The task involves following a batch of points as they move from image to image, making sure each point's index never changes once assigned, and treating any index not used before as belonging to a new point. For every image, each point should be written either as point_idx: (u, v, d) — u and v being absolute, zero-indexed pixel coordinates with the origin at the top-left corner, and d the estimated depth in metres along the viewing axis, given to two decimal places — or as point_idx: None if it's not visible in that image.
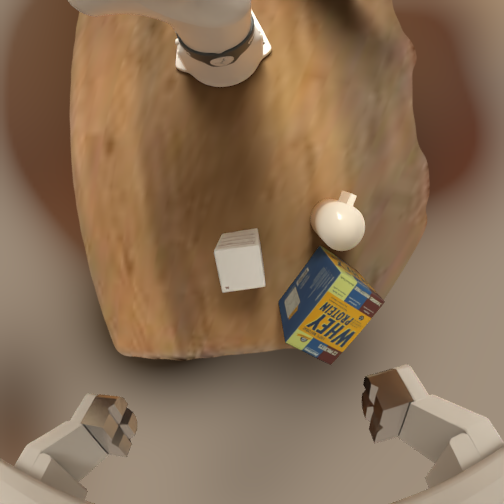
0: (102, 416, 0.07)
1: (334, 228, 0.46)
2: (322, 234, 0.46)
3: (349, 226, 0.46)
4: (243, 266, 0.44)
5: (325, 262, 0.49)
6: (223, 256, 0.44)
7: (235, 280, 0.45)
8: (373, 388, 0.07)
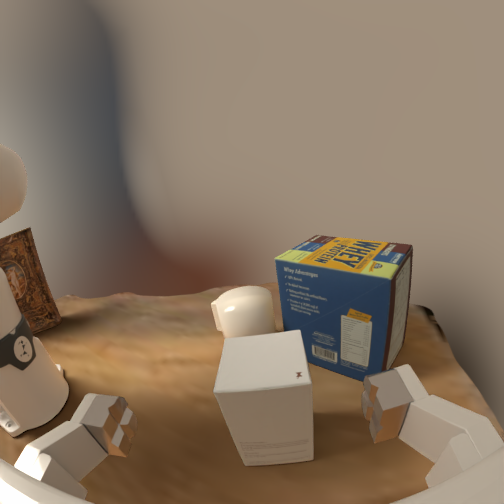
0: (102, 416, 0.07)
1: (241, 304, 0.39)
2: (245, 311, 0.37)
3: (242, 295, 0.41)
4: (256, 353, 0.23)
5: (287, 311, 0.37)
6: (229, 378, 0.20)
7: (284, 363, 0.21)
8: (373, 388, 0.07)
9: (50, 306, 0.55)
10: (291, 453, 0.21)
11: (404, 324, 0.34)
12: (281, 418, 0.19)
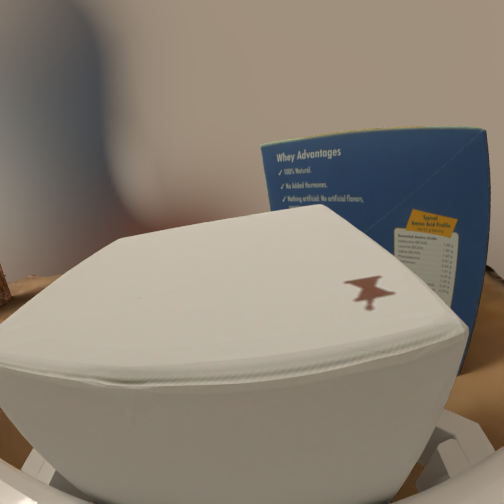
0: None
1: None
2: None
3: None
4: (173, 244, 0.06)
5: None
6: (32, 314, 0.04)
7: (273, 255, 0.04)
8: None
9: None
10: None
11: None
12: None
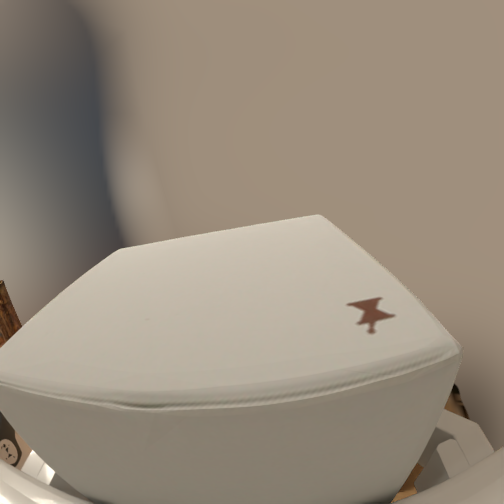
0: None
1: None
2: None
3: None
4: (175, 259, 0.06)
5: None
6: (39, 333, 0.04)
7: (276, 273, 0.05)
8: None
9: None
10: None
11: None
12: None
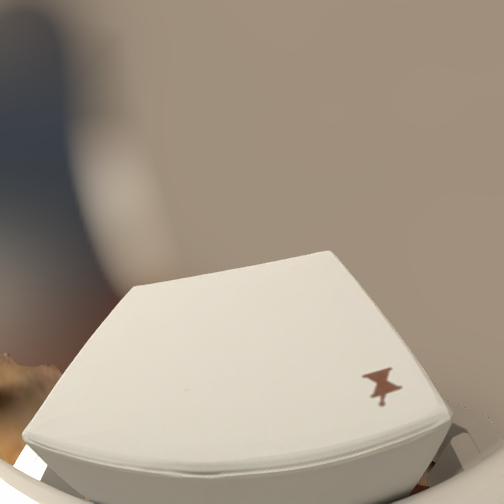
0: None
1: None
2: None
3: None
4: (197, 311, 0.07)
5: None
6: (78, 396, 0.04)
7: (298, 337, 0.05)
8: None
9: None
10: None
11: None
12: None
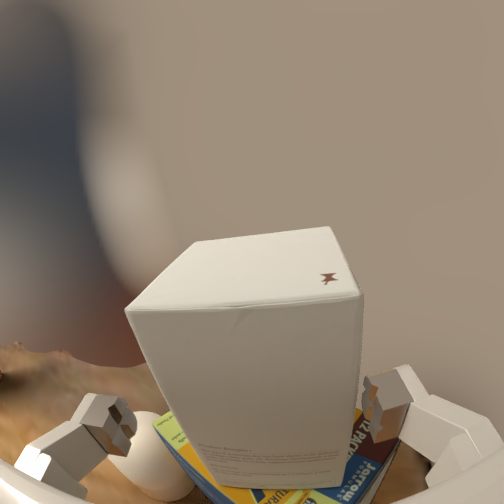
0: (102, 416, 0.07)
1: None
2: (129, 466, 0.18)
3: None
4: (240, 251, 0.12)
5: None
6: (167, 287, 0.09)
7: (294, 260, 0.10)
8: (373, 388, 0.07)
9: None
10: (301, 475, 0.10)
11: (370, 500, 0.15)
12: (281, 399, 0.08)
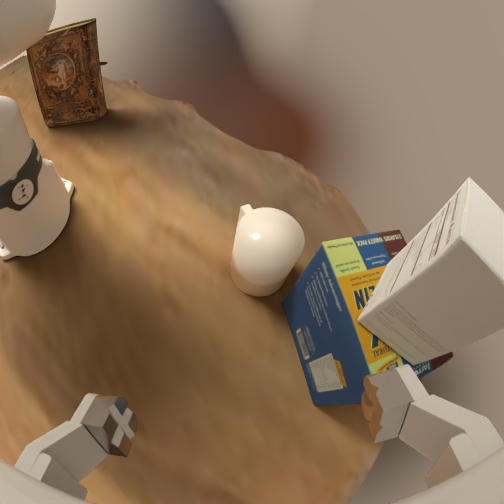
0: (102, 416, 0.07)
1: (262, 243, 0.32)
2: (258, 261, 0.31)
3: (274, 228, 0.33)
4: (499, 227, 0.12)
5: (301, 286, 0.31)
6: (476, 233, 0.11)
7: None
8: (373, 388, 0.07)
9: (95, 101, 0.49)
10: (413, 347, 0.18)
11: None
12: (467, 316, 0.13)
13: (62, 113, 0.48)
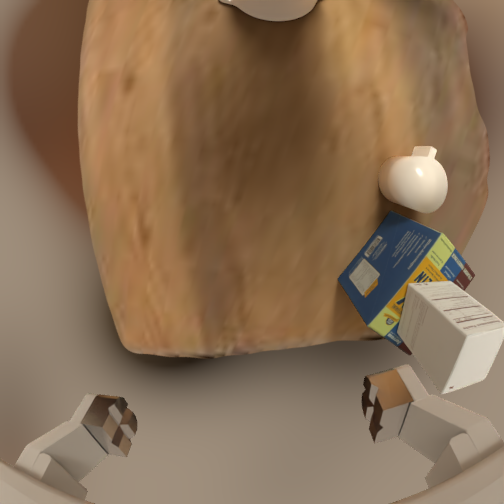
0: (102, 416, 0.07)
1: (418, 184, 0.33)
2: (406, 190, 0.33)
3: (432, 183, 0.33)
4: (483, 357, 0.19)
5: (409, 226, 0.36)
6: (473, 344, 0.18)
7: (465, 377, 0.20)
8: (373, 388, 0.07)
9: None
10: (407, 328, 0.29)
11: None
12: (432, 355, 0.23)
13: None
